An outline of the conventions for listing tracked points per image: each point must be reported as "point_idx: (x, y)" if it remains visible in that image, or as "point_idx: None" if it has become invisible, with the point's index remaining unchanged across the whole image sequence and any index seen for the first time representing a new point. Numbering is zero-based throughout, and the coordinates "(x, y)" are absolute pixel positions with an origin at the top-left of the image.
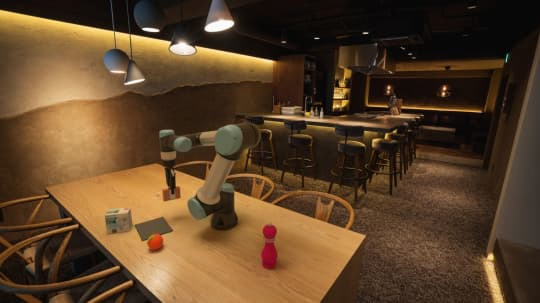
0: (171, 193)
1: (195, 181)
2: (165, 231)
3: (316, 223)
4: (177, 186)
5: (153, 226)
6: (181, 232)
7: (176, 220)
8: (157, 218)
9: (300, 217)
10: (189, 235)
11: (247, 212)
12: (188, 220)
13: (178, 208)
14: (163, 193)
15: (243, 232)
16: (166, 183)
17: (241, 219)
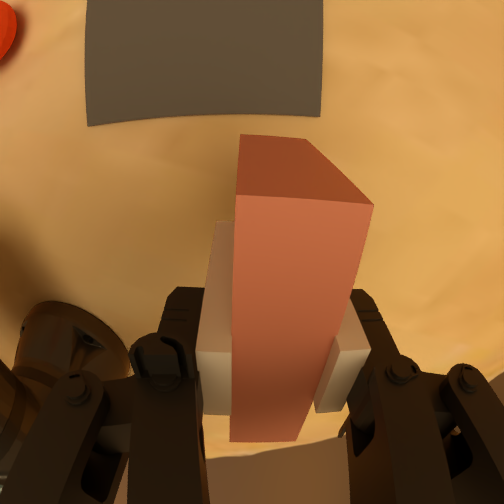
0: (194, 298)
1: (501, 364)
2: (95, 81)
3: None
4: (295, 432)
5: (209, 22)
6: (57, 165)
7: (212, 176)
8: (315, 75)
9: None
10: (22, 194)
11: None
12: (168, 238)
13: (369, 242)
14: (238, 168)
15: (11, 349)
16: (468, 378)
17: None
